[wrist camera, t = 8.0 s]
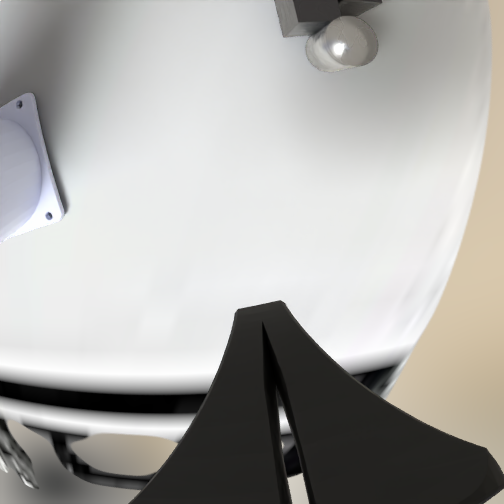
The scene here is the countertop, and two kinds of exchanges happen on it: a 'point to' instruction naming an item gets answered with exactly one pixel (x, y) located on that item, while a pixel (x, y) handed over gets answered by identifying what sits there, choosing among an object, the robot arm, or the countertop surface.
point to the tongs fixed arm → (356, 6)
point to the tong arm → (328, 33)
